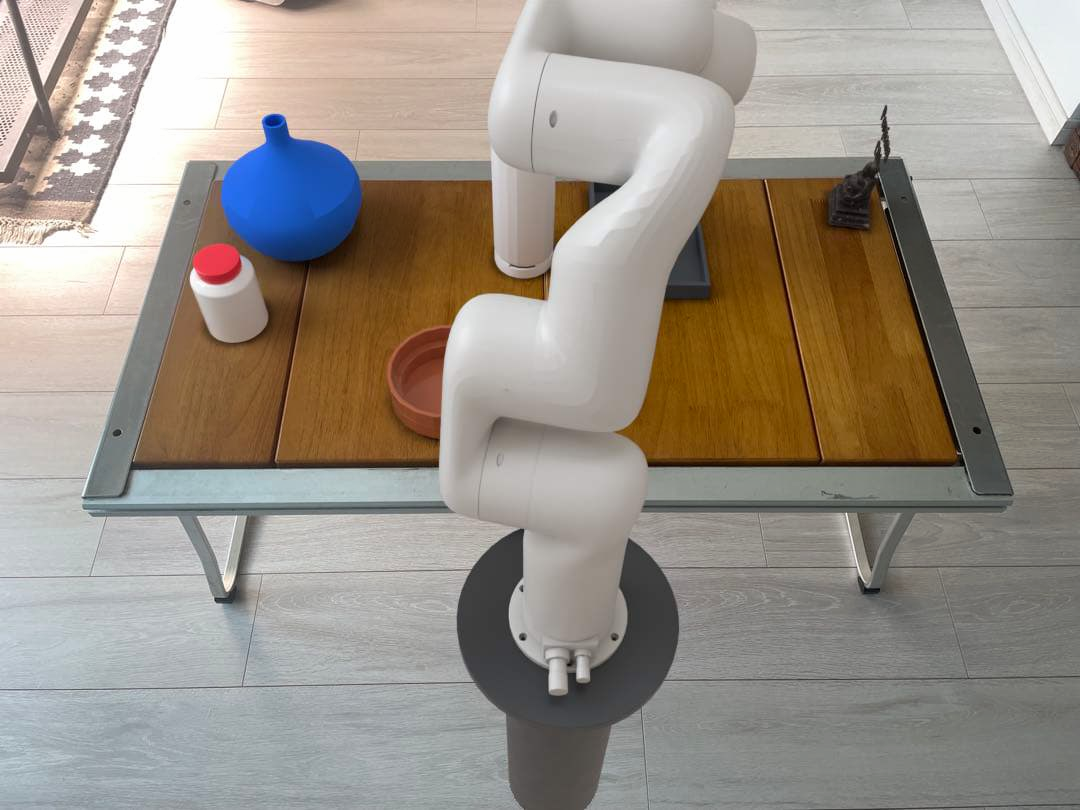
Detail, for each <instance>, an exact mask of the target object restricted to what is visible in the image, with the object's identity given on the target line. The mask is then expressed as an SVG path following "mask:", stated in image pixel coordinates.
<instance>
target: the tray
mask: <svg viewBox="0 0 1080 810" xmlns="http://www.w3.org/2000/svg"><path fill="white" fill-rule="evenodd" d="M621 187H622V186H619V185H612V184H606V183H598V182H590V181H588V211H589V210H590V209H592V208H593V207H594V206H596V205H597V204H598V203H600V202H601V201H603V200H604V199H606V198H607V197H609V196H610V195H611V194H613V193H614V192H615V191H617V190H618V189H619V188H621ZM701 220H702V219H700V220H699V222H698V224H697V225H696V227H695V229H694V230H693V232H692V233H691V235H690V237H689V238H688V240H687V242H686V243H685V245H684V247H683V248H682V250H681V252H680V253H679V255H678V257H677V259H676V261H675V264H674V266H673V268H672V270H671V272H670V275H669V279H668V282H667V286H666V290H665V296H664V299H674V300H675V299H677V300H678V299H680V300H682V299H685V300H686V299H688V300H690V299H695V300H696V299H697V300H698V299H699V300H702V299H703V300H707V299H708V298H709V295H710V290H711V279H710V278H711V277H710V271H709V265H708V260H707V253H706V246H705V240H704V233H703V227H702V221H701Z"/></svg>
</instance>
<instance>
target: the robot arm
mask: <svg viewBox="0 0 1080 810" xmlns="http://www.w3.org/2000/svg"><path fill="white" fill-rule="evenodd" d="M520 13H521V14H520V15H519V17H518V20H517V23H516V25H515V28H514V31H513V34H512V36H511V38H510V41H509V43H508V46H507V48H506V51H505V53H504V56H503V57H502V60H501V63H500V66H499V68H498V71H497V73H496V77H495V79H494V82H493V85H492V88H491V93H490V98H489V103H488V110H487V134H488V140H489V143H490V147H491V146H492V148H493V150H494V152H495V154H496V155H497V156H498V157H499V158H500V159H501V160H502V161H503V162H504V163H506V164H507V165H509V166H511V167H513V168H516V169H519V170H522V171H526V172H531V173H539V174H545V175H552V176H556V177H560V178H565V179H571V180H572V179H573V180H579V181H585V182H589V181H590V182H598V183H606V184H612V185H619V186H622V187H621V188H619V189H618V190H617V191H615V192H614V193H613V194H611V195H610V196H609V197H607V198H606V199H604V200H603V201H601V202H600V203H598V204H597V205H596V206H594V207H593V208H592V209H590V210H589V209H588V211H587V212H585V213H584V214H583V215H582V216H581V217H580V218H579V219H578V220H577V221H575V222H574V224H573V225H572V226H570V227H569V229H568V230H567V231H565V233H564V234H563V235H562V236H561V238H560V239H559V241H558V242H557V243H556V245H555V247H554V249H553V258H552V264H551V266H550V278H549V285H548V286H549V287H548V296H547V300H545V299H544V300H543V299H538V298H531V297H525V296H521V295H520V296H519V295H514V294H507V293H483V294H479V295H476V296H475V297H472V298H470V299H469V300H468V301H467V302H466V303H464V305H462V307H461V308H460V309H459V311H458V313H457V314H456V316H455V318H454V320H453V323H452V324H451V325H452V328H451V330H450V334H449V338H448V342H447V346H446V352H445V359H444V369H443V383H442V407H441V431H440V439H439V454H438V455H439V458H438V459H439V460H438V485H439V492H440V495H441V499H442V501H443V503H444V504H445V506H446V507H447V508H448V509H449V510H451V511H452V512H453V513H455V514H457V515H459V516H462V517H466V518H469V519H473V520H478V521H482V522H488V523H492V524H496V525H502V526H507V527H511V528H517V529H525V531H524V538H523V578H522V579H521V581H520V582H519V583H518V585H517V586H516V588H515V590H514V592H513V595H512V597H511V601H510V605H509V624H510V629H511V632H512V636H513V638H514V640H515V642H516V644H517V646H518V647H519V648H520V649H521V651H522V652H523V653H524V654H525V655H526V656H527V657H528V658H529V659H530V660H532V661H533V662H534V663H536V664H538V665H540V666H541V667H543V668H546V669H549V694H551V695H556V696H560V695H565V694H567V693H568V675H567V673H576V681H577V682H579V683H587V682H589V681H590V669H592V668H595V667H597V666H599V665H601V664H602V663H604V662H605V661H606V660H608V659H609V658H610V657H611V656H612V655H613V654H614V653H615V652H616V650H617V649H618V647H619V646H620V644H621V642H622V640H623V637H624V634H625V632H626V626H627V615H628V612H627V606H626V602H625V599H624V596H623V594H622V592H621V590H620V588H619V583H620V577H621V572H622V566H623V561H624V555H625V550H626V545H627V541H628V538H630V534H631V531H632V530H633V528H634V526H635V524H636V522H637V521H638V519H639V517H640V514H641V513H642V510H643V507H644V505H645V501H646V498H647V494H648V490H649V489H648V487H649V481H650V480H649V479H650V478H649V477H650V473H649V466H648V460H647V458H646V456H645V454H644V452H643V450H642V449H641V448H640V446H639V445H638V444H636V443H635V442H634V441H633V440H631V439H630V438H629V437H626V436H625V435H622V434H619V433H616V432H618V431H622V430H623V429H625V428H626V427H629V426H630V425H631V424H632V423H633V422H634V421H635V419H636V418H638V416H639V413H640V411H641V409H642V406H643V405H644V401H645V398H646V395H647V390H648V386H649V382H650V378H651V372H652V367H653V362H654V358H655V353H656V346H657V345H656V344H657V340H658V334H659V330H660V325H661V324H660V323H661V318H662V311H663V306H664V301H665V298H664V296H665V290H666V286H667V282H668V279H669V275H670V272H671V270H672V268H673V266H674V264H675V261H676V259H677V257H678V255H679V253H680V252H681V250H682V248H683V247H684V245H685V243H686V242H687V240H688V238H689V237H690V235H691V233H692V232H693V230H694V229H695V227H696V225H697V224H698V222H699V220H702V219H701V218H702V217H703V215H704V213H705V211H706V210H707V208H708V207H709V204H710V202H711V200H712V199H713V196H714V194H715V192H716V189H717V187H718V185H719V183H720V180H721V178H722V175H723V173H724V170H725V167H726V164H727V161H728V159H729V154H730V151H731V146H732V144H733V139H734V135H735V127H736V110H735V106H737V105H739V104H740V103H741V102H742V100H743V99H744V98H745V96H746V95H747V92H748V91H749V89H750V86H751V84H752V81H753V77H754V74H755V69H756V66H757V56H758V55H757V54H758V43H757V42H758V41H757V37H756V32H755V30H754V28H753V26H751V24H750V23H748V22H746V21H744V20H742V19H740V18H737V17H735V16H732V15H729V14H727V13H723V12H721V11H719V10H717V0H526V1H525V2H524V6H523V8H522V10H521V12H520ZM522 590H523V592H521V591H522ZM522 638H524V639H525V641H521V639H522ZM613 638H614V639H616V641H613V640H612V639H613ZM567 664H571V665H572V666H570V667H569V666H567Z"/></svg>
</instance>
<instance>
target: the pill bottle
mask: <svg viewBox="0 0 1080 810" xmlns="http://www.w3.org/2000/svg"><path fill="white" fill-rule="evenodd" d="M192 264H193V268H192V270H191V272H190V275H189V285H190V287H191V290H192V292H193V295H194V298H195V300H196V303H197V306H198V307H199V310H200V313H201V315H202V317H203V321H204V322H205V324H206V327H207V330H208V332H209V333H210V335H211V336H212V337H213V338H215V339H216V340H218V341H220V342H223V343H229V344H234V343H237V344H238V343H242V342H246V341H250V340H251V339H253V338H255V337H257V336H258V335H259V334H261V332H263V331H264V329H265V328H266V327H267V324H268V322H269V311H268V309H267V305H266V303H265V299H264V296H263V293H262V289H261V286H260V283H259V280H258V277H257V275H256V271H255V267H254V265H253V263H252V262H251V260H250V259H248V258H247V257H246V256H244V255H242V254H240V253H239V251H238V249H237V248H236V247H234V246H233V245H231V244H228V243H227V244H226V243H214V244H210V245H207V246H204V247H203V248H201V249H199V251H197V253H196V254H195V255H194V257H193V260H192Z"/></svg>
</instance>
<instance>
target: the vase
mask: <svg viewBox="0 0 1080 810" xmlns="http://www.w3.org/2000/svg"><path fill="white" fill-rule="evenodd" d="M261 125H262V129H263V133H264V136H265V141H264V143H263V144H261V145H259V146H258V147H256V148H254V149H251V150H249V151H248V152H246V153H244V155H242V156H240V158H238V159H237V160H235V161H234V163H233V164H232V165H231V166H230V167H229V168H228V170H227V171H226V173H225V175H224V178H223V180H222V184H221V191H220V192H221V193H220V204H221V206H222V210H223V213H224V215H225V217H226V219H227V223H228V226H229V227H230V228H231V229H232V230H233V231H234V232H235V233H236V235H238V236H239V237H240V238H241V240H243V241H244V242H245V243H246V244H247V245H248V246H249V247H250V248H252V249H253V250H255V251H257V252H259V254H262V255H265V256H267V257H269V258H272V259H275V260H278V261H279V260H280V261H282V262H304V261H310V260H314V259H317V258H320V257H323V256H325V255H327V254H328V253H330V252H332V251H333V250H334V249H336V248H337V247H338V246H339V245H340V244H342V243H343V242H344V241H345V239H347V237H348V236H349V235H350V233H351V231H352V230H353V229H354V227H355V224H356V221H357V217H358V215H359V211H360V208H361V205H362V201H363V195H362V185H361V178H360V175H359V173H358V171H357V169H356V167H355V165H354V164H353V162H351V160H350V158H348V157H347V155H345V154H344V153H343V152H342V151H341V150H340V149H338V148H336V147H334V146H332V145H330V144H327V143H324V142H320V141H316V140H311V139H300V138H295V137H292V136H291V135H290V131H289V126H288V122H287V118H286V116H285V115H283V114H281V113H270V114H267V115H265V116H264V117H263V118H262V119H261Z"/></svg>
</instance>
